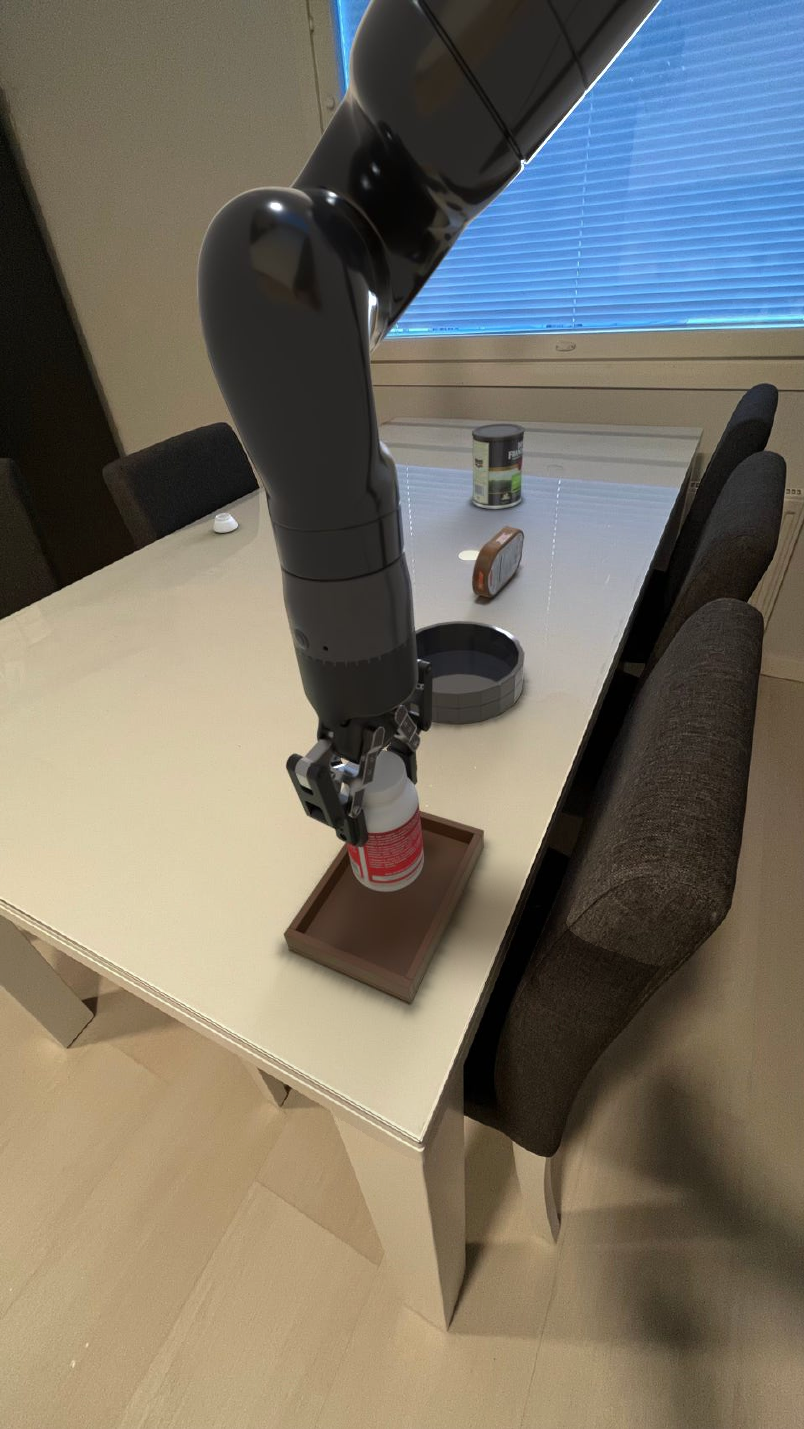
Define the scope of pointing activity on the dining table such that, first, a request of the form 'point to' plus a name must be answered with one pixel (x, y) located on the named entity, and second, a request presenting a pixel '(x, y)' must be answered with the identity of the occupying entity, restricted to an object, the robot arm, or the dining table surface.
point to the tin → (497, 561)
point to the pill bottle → (389, 828)
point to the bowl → (470, 670)
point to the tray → (388, 912)
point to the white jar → (224, 523)
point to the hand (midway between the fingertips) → (380, 809)
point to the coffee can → (497, 465)
